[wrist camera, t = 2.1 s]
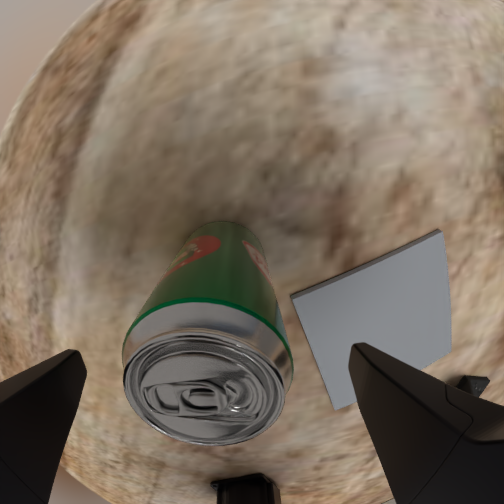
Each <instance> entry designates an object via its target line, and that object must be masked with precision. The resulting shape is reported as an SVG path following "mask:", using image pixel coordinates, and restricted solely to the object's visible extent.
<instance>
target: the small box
mask: <svg viewBox="0 0 504 504" xmlns="http://www.w3.org/2000/svg"><path fill="white" fill-rule="evenodd" d="M382 504H396V502H395V499H391V500H389V501H387V502H385V503H382Z"/></svg>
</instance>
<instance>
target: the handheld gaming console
mask: <svg viewBox="0 0 504 504" xmlns="http://www.w3.org/2000/svg"><path fill="white" fill-rule="evenodd" d="M489 382H490V380H489V379H488V378H487V377H476V376H466V375H464V377H463V378H462V379H461V381H460V382H459V384H458V385H457V387H456V388H457V389H460V390H462V391H464V392H466V393H469V394H471V395H474V396H476V397H479V396H480V395H481V394H482V392H483V391H484V389H485V388H486V387H487V385H488V384H489Z"/></svg>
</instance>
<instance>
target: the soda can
mask: <svg viewBox="0 0 504 504" xmlns="http://www.w3.org/2000/svg"><path fill="white" fill-rule="evenodd" d="M122 363H123V368H124V374H123V385H124V391H125V394H126V397H127V399H128V401H129V403H130V405H131V407H132V408H133V409H134V411H135V412H136V413H137V414H138V415H139V416H140V418H141V419H142V420H143V421H145V422H146V423H147V424H148V425H150V426H151V427H152V428H154V429H155V430H157V431H159V432H160V433H162V434H164V435H166V436H168V437H171V438H173V439H176V440H179V441H182V442H186V443H190V444H195V445H202V446H225V445H231V444H236V443H240V442H244V441H247V440H249V439H252V438H254V437H256V436H258V435H260V434H261V433H263V432H264V431H266V430H267V429H268V428H269V427H271V426H272V425H273V423H274V422H275V421H276V420H277V419H278V417H279V415H280V414H281V412H282V409H283V406H284V403H285V396H286V394H287V392H288V391H289V388H290V385H291V383H292V379H293V372H294V367H293V358H292V354H291V350H290V346H289V343H288V339H287V335H286V332H285V328H284V324H283V320H282V317H281V313H280V309H279V306H278V302H277V298H276V295H275V291H274V288H273V284H272V280H271V277H270V273H269V269H268V266H267V262H266V259H265V255H264V252H263V248H262V246H261V244H260V242H259V241H258V239H257V238H256V236H255V235H254V234H253V233H252V232H251V231H249V230H248V229H247V228H245V227H243V226H241V225H239V224H236V223H233V222H227V221H218V222H212V223H209V224H206V225H204V226H202V227H200V228H199V229H197V230H196V231H195V232H194V233H193V234H192V235H191V236H190V237H189V238H188V240H187V241H186V243H185V244H184V246H183V247H182V248H181V250H180V251H179V253H178V254H177V256H176V257H175V259H174V260H173V262H172V263H171V265H170V266H169V268H168V269H167V271H166V272H165V274H164V275H163V277H162V278H161V280H160V281H159V283H158V284H157V286H156V287H155V289H154V291H153V292H152V294H151V295H150V297H149V298H148V300H147V301H146V303H145V305H144V306H143V308H142V309H141V311H140V313H139V314H138V316H137V317H136V319H135V321H134V322H133V324H132V325H131V327H130V329H129V330H128V332H127V334H126V337H125V340H124V342H123V348H122Z"/></svg>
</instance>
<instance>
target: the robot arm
mask: <svg viewBox="0 0 504 504" xmlns="http://www.w3.org/2000/svg"><path fill="white" fill-rule="evenodd" d="M348 370H349V374H350V377H351V381H352V384H353V388H354V392H355V395H356V399H357V403H358V406H359V409H360V412H361V414H362V417H363V419H364V422H365V424H366V427H367V429H368V432H369V434H370V437H371V439H372V442H373V444H374V447H375V449H376V452H377V454H378V457H379V459H380V462H381V465H382V467H383V470H384V472H385V475H386V478H387V480H388V483H389V486H390V488H391V491H392V494H393V496H394V499H395V502H396V504H504V406H502V405H499V404H496V403H493V402H490V401H487V400H484V399H482V398H479V397H476V396H474V395H471V394H469V393H466V392H464V391H462V390H460V389H457V388H455V387H453V386H451V385H449V384H447V383H446V384H445V382H443V381H441V380H439V379H437V378H435V377H433V376H431V375H429V374H427V373H425V372H423V371H421V370H419V369H417V368H415V367H413V366H411V365H409V364H407V363H405V362H403V361H401V360H399V359H397V358H395V357H393V356H391V355H389V354H387V353H385V352H383V351H381V350H379V349H377V348H375V347H373V346H371V345H369V344H367V343H365V342H360V343H354V344H353V345H352V346H351V351H350V357H349V363H348ZM86 376H87V370H86V367H85V364H84V362H83V359H82V356H81V354H80V352H79V351H78V350H72V349H68V350H65V351H63V352H61V353H59V354H57V355H55V356H53V357H51V358H49V359H47V360H45V361H43V362H41V363H39V364H37V365H35V366H33V367H31V368H29V369H27V370H25V371H23V372H21V373H19V374H17V375H15V376H13V377H11V378H9V379H6V380H4V381H2V382H0V504H48V502H49V498H50V494H51V490H52V486H53V483H54V479H55V476H56V472H57V469H58V466H59V462H60V459H61V456H62V453H63V450H64V447H65V443H66V441H67V438H68V435H69V432H70V429H71V426H72V423H73V421H74V418H75V415H76V412H77V409H78V406H79V402H80V398H81V394H82V391H83V387H84V383H85V380H86ZM211 487H212V488H213V489H215V490H216V491H217V504H281V498H280V490H279V489H278V488H277V487H276V486H275V485H274V484H273V483H272V482H270V481H269V480H268V479H267V478H266V477H265V476H264V475H263V474H255V475H250V476H245V477H240V478H234V479H229V480H222V481H215V482H211Z"/></svg>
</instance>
